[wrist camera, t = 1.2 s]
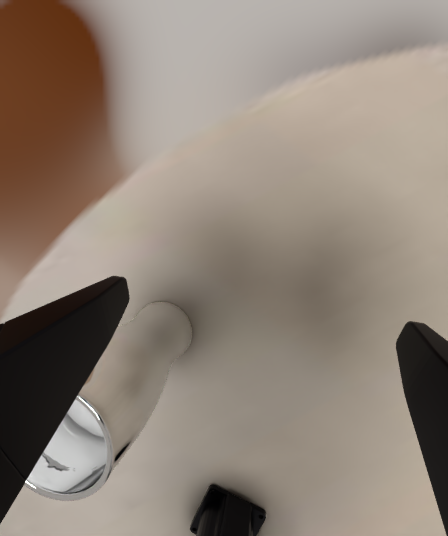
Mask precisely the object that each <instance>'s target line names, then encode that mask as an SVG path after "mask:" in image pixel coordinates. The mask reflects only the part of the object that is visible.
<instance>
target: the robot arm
mask: <svg viewBox="0 0 448 536" xmlns="http://www.w3.org/2000/svg"><path fill="white" fill-rule="evenodd" d="M128 303H129V291H128V286H127V281H126V279H125V278H124V277H119V276H111V277H109V278H107V279H104V280H102V281H100V282H97V283H95V284H93V285H90V286H88V287H86V288H83V289H81V290H79V291H77V292H74V293H72V294H70V295H67V296H65V297H63V298H60V299H58V300H56V301H53V302H51V303H49V304H46V305H44V306H42V307H39V308H37V309H35V310H32V311H30V312H28V313H25V314H23V315H21V316H18V317H16V318H14V319H11V320H9V321H7V322H5V324H3V323H2V324H0V523H1V522H2V520H3V518H4V517H5V515H6V514H7V512H8V510H9V509H10V507H11V505H12V504H13V502H14V500H15V499H16V497H17V495H18V494H19V492H20V490H21V489H22V487H23V485H24V484H25V482H26V479H27V478H28V477H29V475H30V473H31V472H32V470H33V468H34V467H35V465H36V464H37V462H38V460H39V459H40V457H41V455H42V454H43V452H44V450H45V449H46V447H47V445H48V444H49V442H50V440H51V439H52V437H53V435H54V434H55V432H56V430H57V429H58V427H59V426H60V424H61V422H62V421H63V419H64V417H65V416H66V414H67V412H68V411H69V409H70V407H71V406H72V404H73V402H74V401H75V399H76V397H77V396H78V394H79V392H80V391H81V389H82V387H83V386H84V384H85V383H86V381H87V379H88V378H89V376H90V374H91V373H92V371H93V369H94V368H95V366H96V364H97V363H98V361H99V359H100V358H101V356H102V354H103V353H104V351H105V349H106V348H107V346H108V344H109V343H110V341H111V339H112V337H113V335H114V333H115V331H116V329H117V327H118V324H119V322H120V320H121V318H122V316H123V314H124V311H125V309H126V307H127V305H128ZM396 350H397V356H398V361H399V367H400V373H401V378H402V384H403V389H404V394H405V398H406V401H407V405H408V408H409V412H410V415H411V418H412V422H413V425H414V428H415V432H416V435H417V438H418V442H419V445H420V448H421V451H422V455H423V458H424V461H425V465H426V468H427V471H428V475H429V478H430V481H431V485H432V488H433V491H434V495H435V498H436V501H437V505H438V508H439V511H440V515H441V518H442V521H443V525H444V528H445V531H446V535H447V536H448V341H447V340H445V339H444V338H443V337H441V336H440V335H439V334H438V333H436V332H435V331H434V330H432V329H431V328H430V327H428V326H427V325H426V324H424V323H419V322H412V321H409V322H407V323H406V324H405V326H404V328H403V330H402V332H401V333H400V335H399V337H398V339H397V342H396ZM212 490H214V491H212ZM265 519H266V512H265V511H264V510H263V509H261V508H259V507H257V506H255V505H253V504H251V503H249V502H247V501H245V500H243V499H241V498H239V497H237V496H235V495H233V494H231V493H229V492H227V491H225V490H223V489H221V488H219V487H217V486H215V485H210V486H209V488H208V490H207V492H206V494H205V497H204V499H203V501H202V503H201V505H200V507H199V509H198V511H197V513H196V515H195V517H194V519H193V521H192V523H191V527H190V530H191V532H193V533H194V534H196V536H256V535H257V533H258V532H259V530H260V528H261V526H262V524H263V523H264V521H265Z"/></svg>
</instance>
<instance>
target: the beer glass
mask: <svg viewBox="0 0 448 536" xmlns="http://www.w3.org/2000/svg"><path fill="white" fill-rule="evenodd" d="M191 340H192V326H191V323H190V320H189V318H188V317H187V315H186V314H185V313H184V312H183V311H182V310H181V309H180V308H179V307H177V306H176V305H174V304H172V303H169V302H162V301H160V302H153V303H150V304H148V305H146V306H145V307H143V308H142V309H141V310H140V311H139V312H138V314H137V315H136V316H135V318H134V319H133V320H132V321H130V322H128V323H126V324H123V325H120V326H118V327H117V329H116V331H115V333H114V335H113V337H112V339H111V341H110V343H109V344H108V346H107V348H106V349H105V351H104V353H103V354H102V356H101V358H100V359H99V361H98V363H97V364H96V366H95V368H94V369H93V371H92V373H91V374H90V376H89V378H88V379H87V381H86V383H85V384H84V386H83V387H82V389H81V391H80V392H79V394H78V396H77V397H76V399H75V401H74V402H73V404H72V406H71V407H70V409H69V411H68V412H67V414H66V416H65V417H64V419H63V421H62V422H61V424H60V426H59V427H58V429H57V430H56V432H55V434H54V435H53V437H52V439H51V440H50V442H49V444H48V445H47V447H46V449H45V450H44V452H43V454H42V455H41V457H40V459H39V460H38V462H37V464H36V465H35V467H34V468H33V470H32V472H31V473H30V475H29V477H28V478H27V479H26V482H25V484H24V485H25V486H27V487H28V488H29V489H31V490H33V491H34V492H36V493H38V494H40V495H42V496H45V497H48V498H51V499H55V500H61V501H74V500H80V499H83V498H86V497H88V496H90V495H92V494H94V493H95V492H97V491H98V490H99V489H100V488H101V487H102V486H103V485H104V484H105V482H106V481H107V479H108V477H109V475H110V474H111V473H112V471H113V470H114V469H115V467H116V466H117V465H118V463H119V462H120V461H121V459H122V458H123V457H124V456H125V454H126V453H127V451H128V450H129V449H130V447H131V446H132V445H133V443H134V442H135V441H136V439H137V438H138V436H139V435H140V433H141V432H142V430H143V429H144V427H145V426H146V424H147V422H148V420H149V419H150V417H151V415H152V413H153V412H154V410H155V408H156V406H157V404H158V401H159V399H160V396H161V394H162V392H163V389H164V386H165V383H166V380H167V377H168V374H169V371H170V368H171V365H172V363H173V362H174V361H175V360H176V359H177V358H179V357H180V356H181V355H182V354H183V353H184V352H185V351H186V350H187V349H188V347H189V345H190V343H191Z"/></svg>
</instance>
